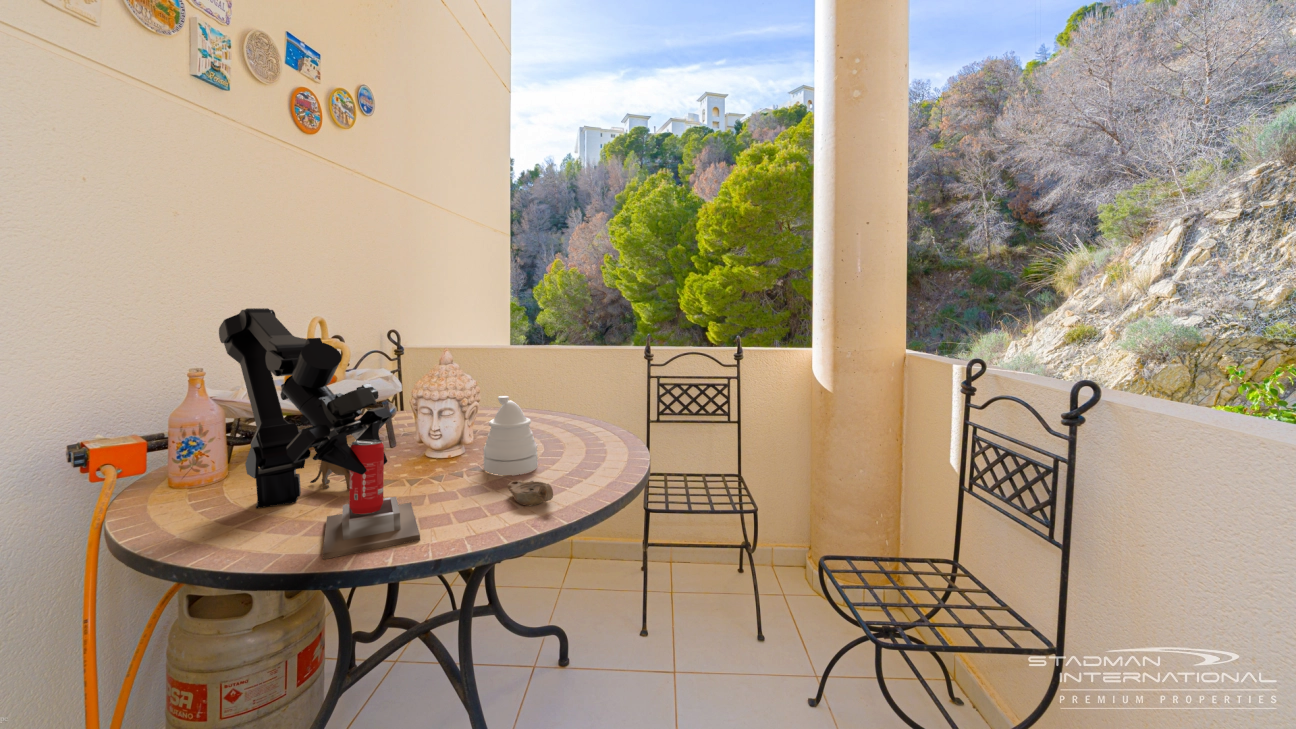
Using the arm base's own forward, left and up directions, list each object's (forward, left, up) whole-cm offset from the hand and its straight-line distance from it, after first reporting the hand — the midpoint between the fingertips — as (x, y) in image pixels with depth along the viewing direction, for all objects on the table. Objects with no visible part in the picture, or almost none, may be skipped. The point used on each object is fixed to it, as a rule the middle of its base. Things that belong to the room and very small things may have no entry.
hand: (375, 467), depth 89 cm
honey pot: (+30, +25, -12) cm, 41 cm away
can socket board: (-1, +1, -11) cm, 12 cm away
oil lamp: (+28, +1, -12) cm, 30 cm away
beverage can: (-2, 0, -8) cm, 8 cm away
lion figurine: (-5, +28, -12) cm, 31 cm away
